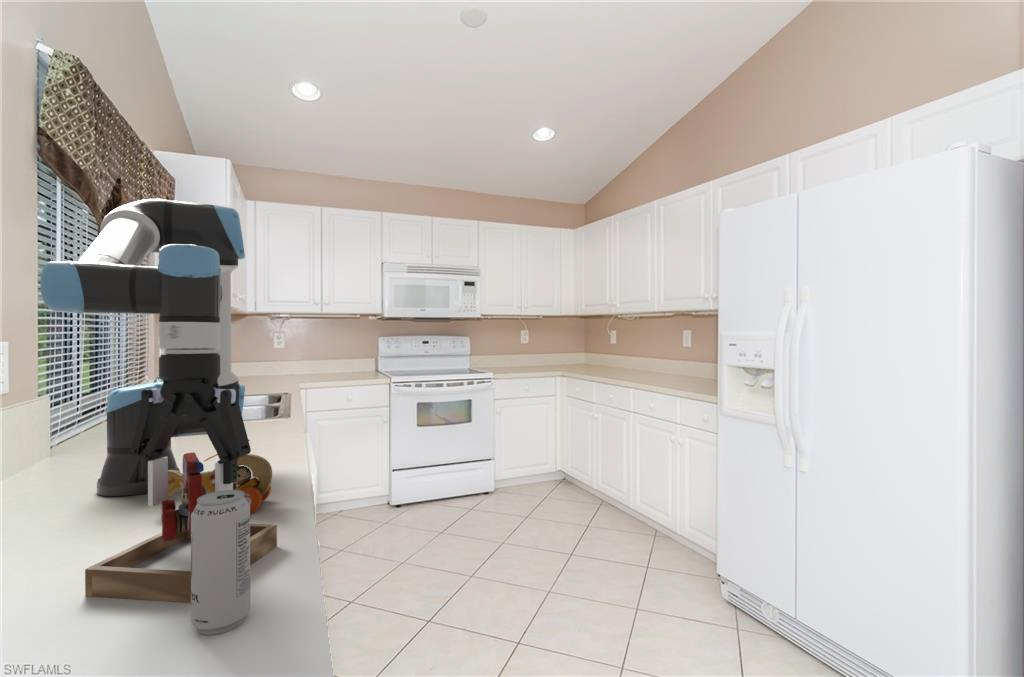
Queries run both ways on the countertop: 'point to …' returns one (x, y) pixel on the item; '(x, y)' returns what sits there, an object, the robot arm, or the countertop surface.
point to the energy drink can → (220, 561)
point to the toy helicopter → (252, 489)
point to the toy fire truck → (183, 499)
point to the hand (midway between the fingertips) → (190, 504)
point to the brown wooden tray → (161, 567)
